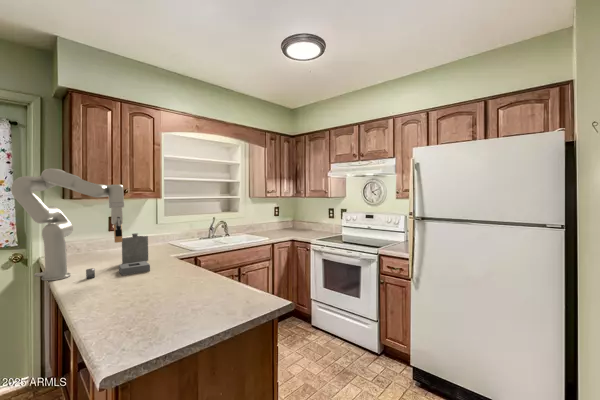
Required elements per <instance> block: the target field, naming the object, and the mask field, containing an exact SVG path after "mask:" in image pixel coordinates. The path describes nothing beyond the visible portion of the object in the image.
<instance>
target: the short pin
mask: <svg viewBox="0 0 600 400" xmlns="http://www.w3.org/2000/svg"><path fill="white" fill-rule="evenodd" d="M95 270H96V269H95V268H94V267H92V268H87V269H85V279H86V280H92V279H95V278H96V273H95V272H96V271H95Z"/></svg>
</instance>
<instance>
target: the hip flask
mask: <svg viewBox="0 0 600 400" xmlns="http://www.w3.org/2000/svg"><path fill="white" fill-rule="evenodd" d="M122 240H123V242H121V263H122V264H127V263H134V262H141V261H146V262H149V236H148V235H139V233H138V232H136V233H131V236H130V237H129V236H128V237H127V236H126V237H122Z"/></svg>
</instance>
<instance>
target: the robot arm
mask: <svg viewBox="0 0 600 400" xmlns="http://www.w3.org/2000/svg"><path fill="white" fill-rule="evenodd" d="M57 186H58V187H62V188H65V189H69V190H71V191H73V192H77V193H79V194H82V195H86V196H89V197H92V198H107V197H108V208H109V209H110V215H111V216H110V217H111V219H110V220H111V221H110V222H111V224H112V225H113V226H114V224H115V225H116V230H115V235H116V237H118V236H122V237H123V228H122V229H121V222H122V224H124V223H123V219H124V217H123V208H125V199H124V198H125V197H124V196H125V194H124V186H123V185H122V184H101V183H100V184H99V183H94V182H90V181H87V180H85V179H83V178H81V177H80V176H79V175H75V174H72V173H69V172H67V171H64V170H63V169H60V168H51V167H50V168H46V169H44V170H42V172H41V175H39V176H33V175H23V176H19V177H17V178H16V179H14V181H13V182H12V183H11V186H10V188H11V189H10V190H11V194H12V196H13V198H14V199H15V200H16V201H17V203H19V205H20V206H21V207H22V208H23V209H24V211H25V212H26V213H27V215H29V216H30V218H31V219H32V220H33V222H35V223H37V224H46V225H45V226H43V229H42V230H41V236H42V240H43V247H44V271H42V272H36V273H34V278H39V277H41V280H42V281H47V282H48V281H49V282H51V281H58V280H63V279H66V278H69V277H70V276H71V273H70V272H68V264H67V263H68V262H67V261H68V260H67V259H68V258H67V255H68V254H67V242H66V240H65V237H68V236H69V235H71V234H72V233H73V231H74V226H73V224H72V223H71V221H70V220H69V218H68V217H67V216H66V215H65V214H64V213H63V211H62V210H61V209H59V208H58V207H56V206H54V205H53V206H52V205H46V204H45V203H44V202H43V201H42V199H41V198H40V197H39V196H38V195H36V194H35V193H34V192H43V191H46V190H49V189H51V188H54V187H57ZM116 223H118V224H116Z"/></svg>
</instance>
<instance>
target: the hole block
mask: <svg viewBox="0 0 600 400" xmlns="http://www.w3.org/2000/svg"><path fill="white" fill-rule="evenodd" d="M150 271H151V263H149V262H148V261H141V262H134V263H127V264H118V272H119V274H120V275H121V276H127V275H134V274H139V273H145V272H146V273H147V272H150Z"/></svg>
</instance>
